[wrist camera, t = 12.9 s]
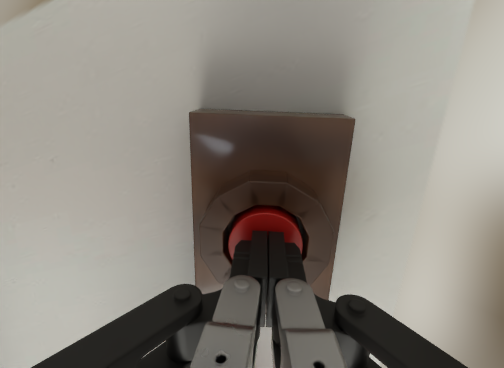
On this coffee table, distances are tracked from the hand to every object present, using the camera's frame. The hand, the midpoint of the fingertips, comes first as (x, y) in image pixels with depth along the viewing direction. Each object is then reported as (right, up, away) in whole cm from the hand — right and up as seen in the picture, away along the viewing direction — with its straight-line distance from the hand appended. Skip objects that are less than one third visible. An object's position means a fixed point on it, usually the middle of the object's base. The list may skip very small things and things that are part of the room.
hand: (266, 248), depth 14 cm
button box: (0, +1, +4) cm, 4 cm away
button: (0, +1, +2) cm, 2 cm away
